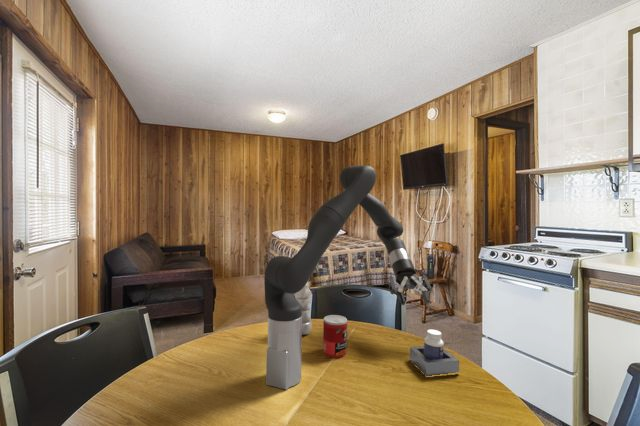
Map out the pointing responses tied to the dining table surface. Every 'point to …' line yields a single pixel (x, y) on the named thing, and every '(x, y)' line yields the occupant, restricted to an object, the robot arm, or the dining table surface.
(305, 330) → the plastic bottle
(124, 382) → the dining table surface
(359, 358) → the dining table surface
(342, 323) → the canned food
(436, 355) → the pill bottle
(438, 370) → the socket cup
